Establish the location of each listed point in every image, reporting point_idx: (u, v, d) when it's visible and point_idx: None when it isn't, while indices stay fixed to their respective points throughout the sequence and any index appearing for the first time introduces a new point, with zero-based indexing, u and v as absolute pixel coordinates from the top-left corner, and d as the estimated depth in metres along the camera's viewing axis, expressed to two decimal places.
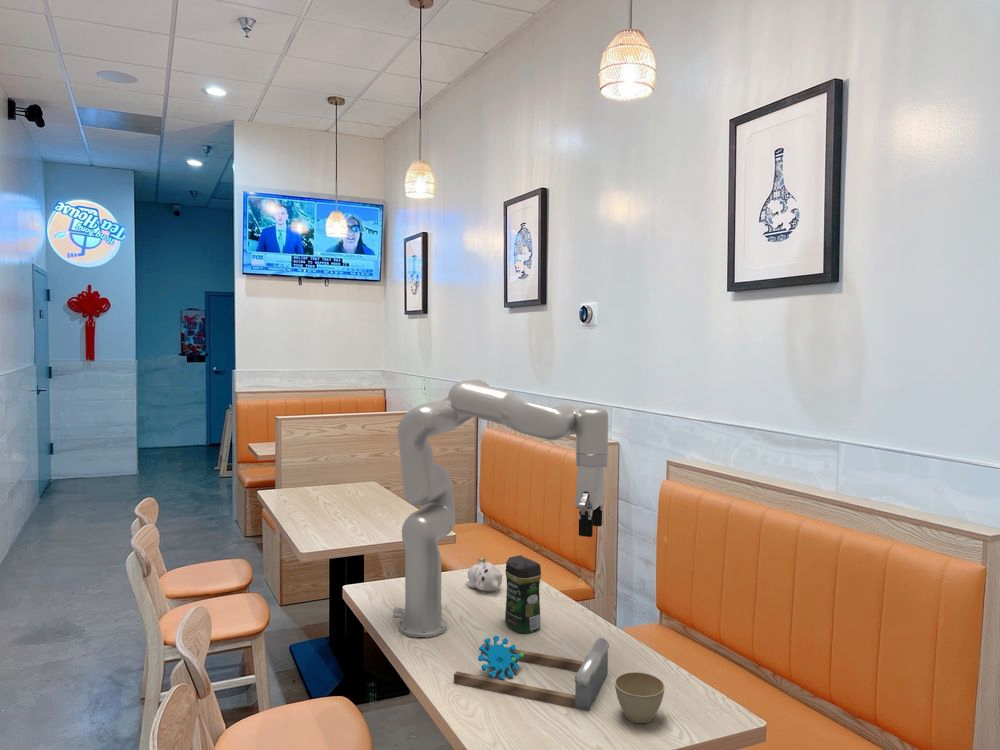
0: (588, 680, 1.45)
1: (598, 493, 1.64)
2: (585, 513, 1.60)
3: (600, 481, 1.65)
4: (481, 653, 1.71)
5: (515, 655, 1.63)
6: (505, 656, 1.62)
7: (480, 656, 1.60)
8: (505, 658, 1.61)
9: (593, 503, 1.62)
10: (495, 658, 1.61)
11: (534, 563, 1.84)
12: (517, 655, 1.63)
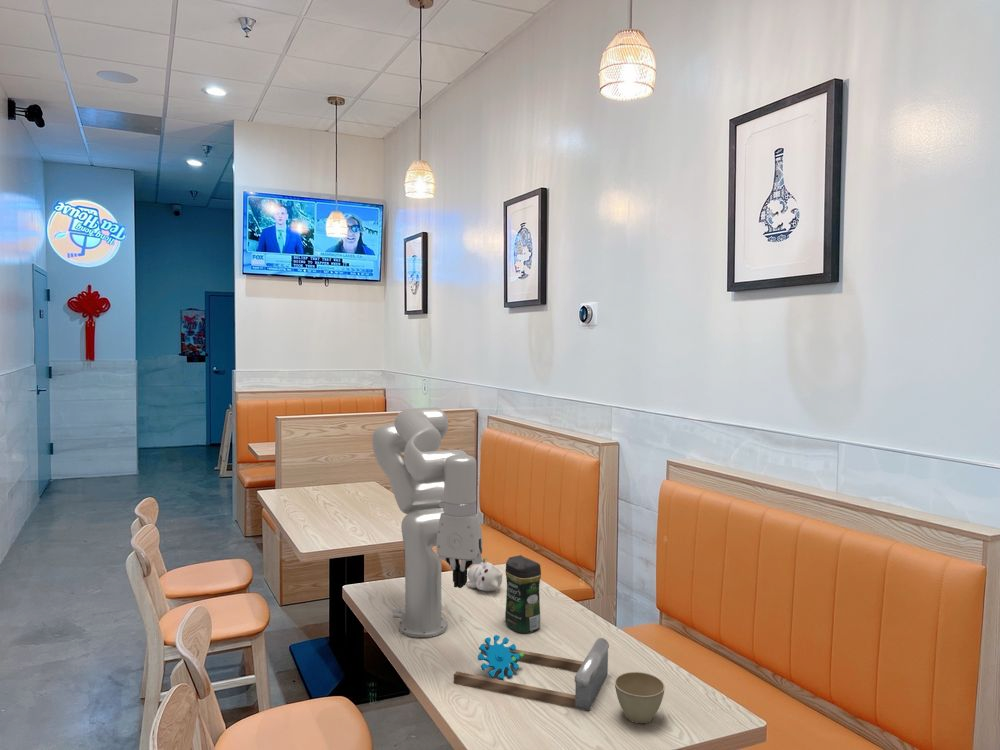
0: (588, 680, 1.45)
1: None
2: None
3: None
4: None
5: (515, 655, 1.63)
6: (505, 656, 1.62)
7: (480, 655, 1.60)
8: (505, 658, 1.62)
9: None
10: (495, 657, 1.61)
11: (534, 563, 1.84)
12: (517, 655, 1.63)
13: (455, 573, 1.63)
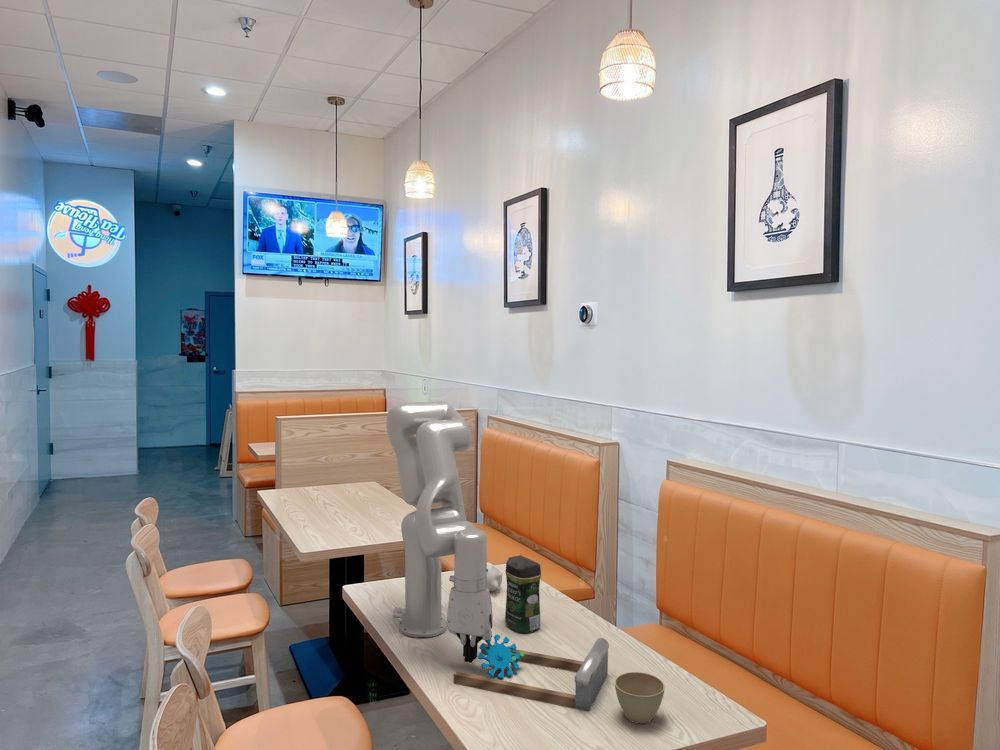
0: (588, 680, 1.45)
1: None
2: None
3: None
4: None
5: (515, 654, 1.63)
6: (505, 655, 1.62)
7: (480, 654, 1.60)
8: (505, 657, 1.62)
9: None
10: (495, 657, 1.61)
11: (534, 563, 1.84)
12: (517, 654, 1.63)
13: (465, 648, 1.63)
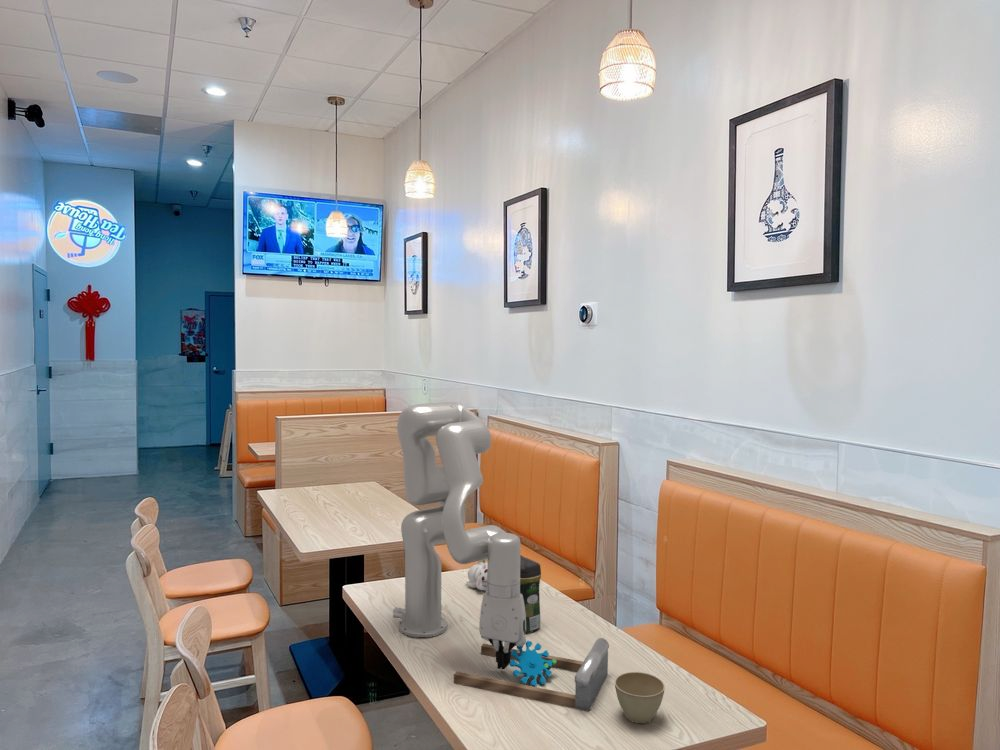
0: (588, 680, 1.45)
1: None
2: None
3: None
4: (481, 653, 1.71)
5: (548, 661, 1.59)
6: (537, 662, 1.59)
7: (512, 661, 1.57)
8: (537, 664, 1.58)
9: None
10: (527, 664, 1.58)
11: (534, 563, 1.84)
12: (550, 662, 1.60)
13: (498, 654, 1.60)
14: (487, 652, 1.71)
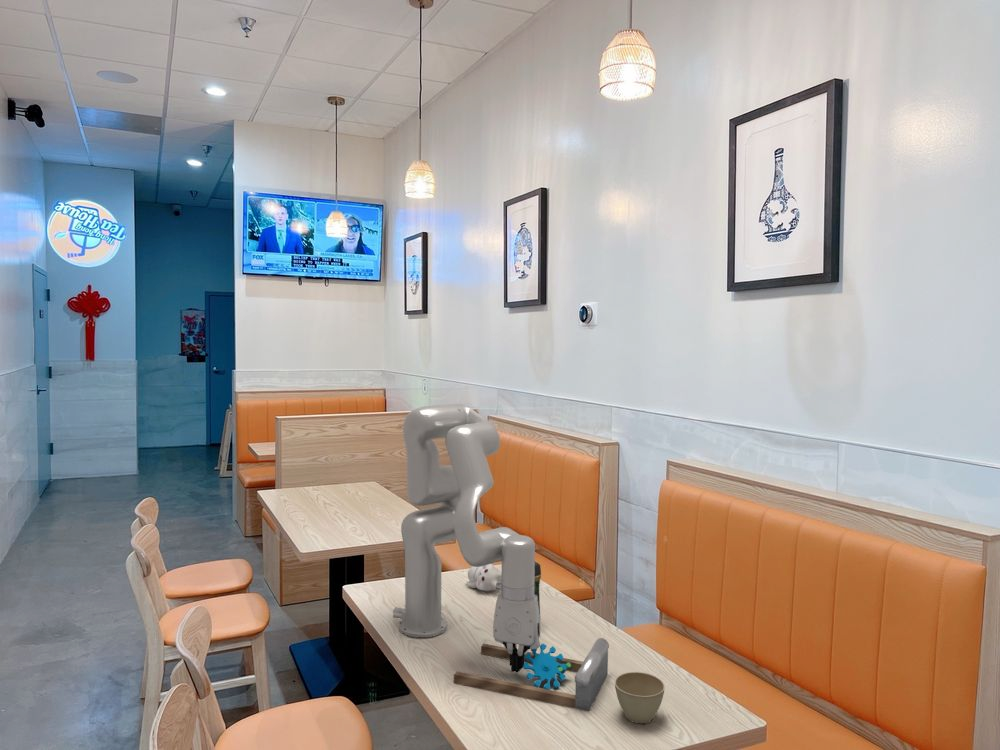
0: (588, 680, 1.45)
1: None
2: None
3: None
4: (481, 653, 1.71)
5: (562, 665, 1.58)
6: (551, 666, 1.57)
7: (525, 664, 1.56)
8: (551, 668, 1.57)
9: None
10: (541, 667, 1.56)
11: None
12: (564, 665, 1.58)
13: (512, 657, 1.59)
14: (487, 652, 1.71)
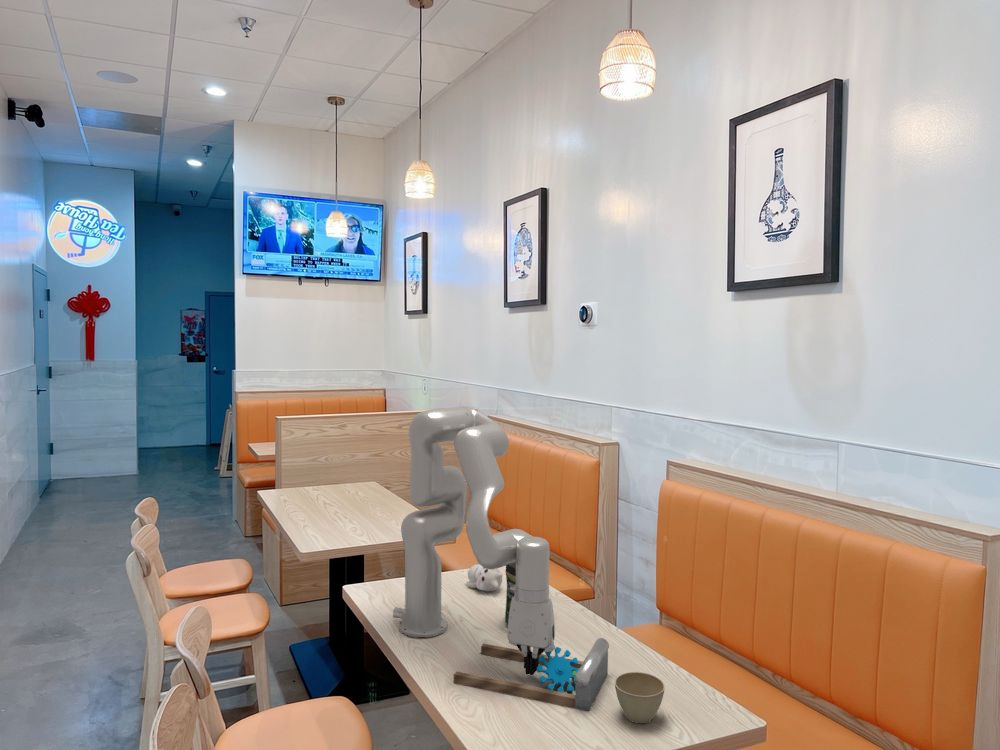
0: (588, 680, 1.45)
1: None
2: None
3: None
4: (481, 653, 1.71)
5: (576, 669, 1.56)
6: (565, 669, 1.55)
7: (539, 667, 1.54)
8: (565, 671, 1.55)
9: None
10: (555, 670, 1.55)
11: None
12: (578, 669, 1.56)
13: (527, 660, 1.58)
14: (487, 652, 1.71)
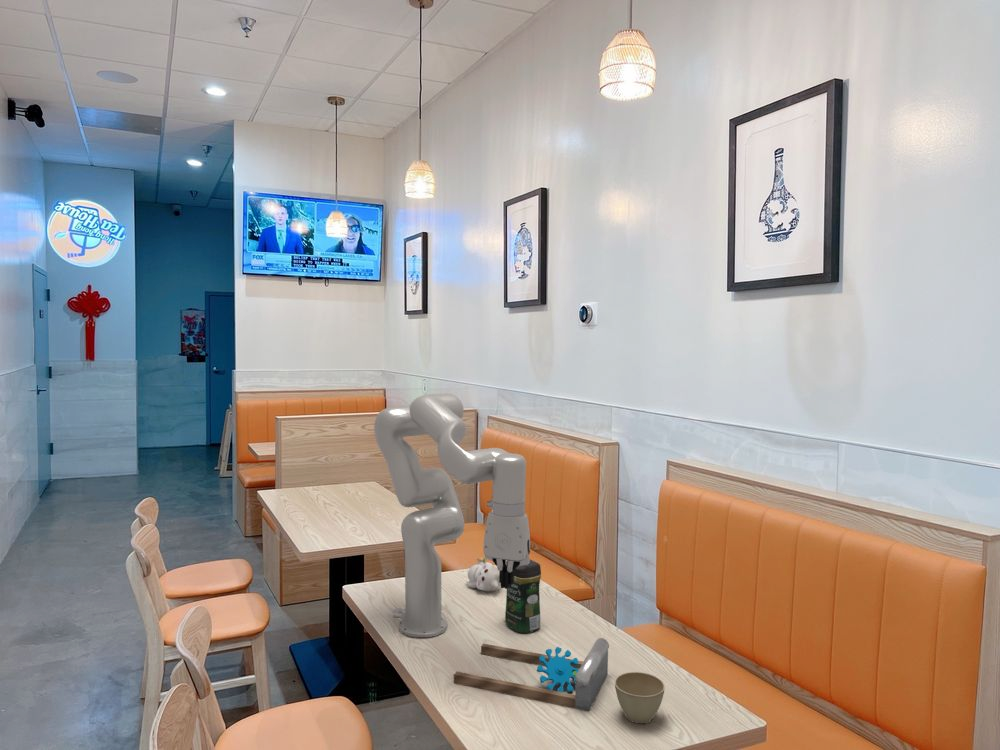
0: (588, 680, 1.45)
1: None
2: None
3: None
4: (481, 653, 1.71)
5: (577, 669, 1.56)
6: (566, 669, 1.55)
7: (539, 667, 1.55)
8: (565, 671, 1.55)
9: None
10: (555, 670, 1.55)
11: (534, 563, 1.84)
12: None
13: (502, 574, 1.60)
14: (487, 652, 1.71)
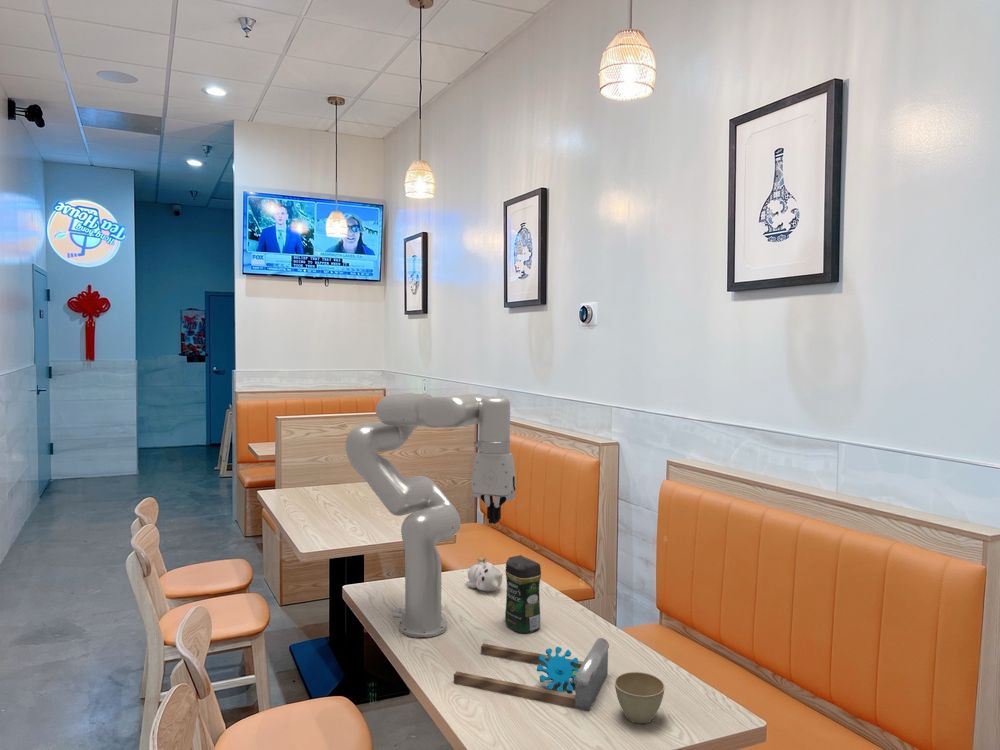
0: (588, 680, 1.45)
1: None
2: None
3: None
4: (481, 653, 1.71)
5: (577, 669, 1.56)
6: (566, 669, 1.56)
7: (539, 666, 1.55)
8: (565, 671, 1.55)
9: None
10: (554, 670, 1.55)
11: (534, 563, 1.84)
12: None
13: (490, 509, 1.70)
14: (487, 652, 1.71)
